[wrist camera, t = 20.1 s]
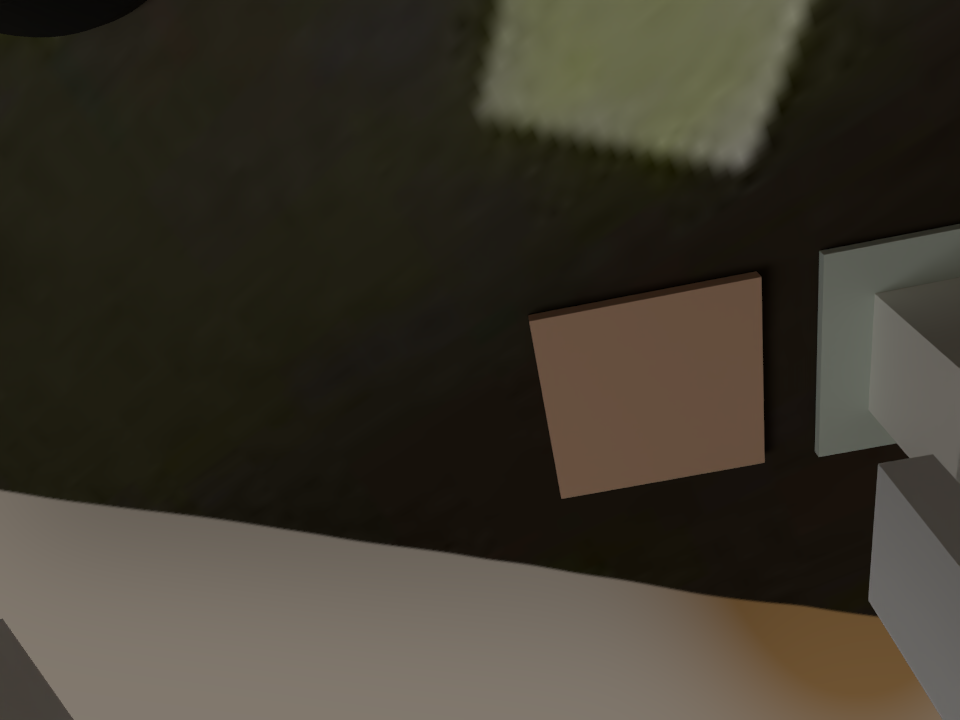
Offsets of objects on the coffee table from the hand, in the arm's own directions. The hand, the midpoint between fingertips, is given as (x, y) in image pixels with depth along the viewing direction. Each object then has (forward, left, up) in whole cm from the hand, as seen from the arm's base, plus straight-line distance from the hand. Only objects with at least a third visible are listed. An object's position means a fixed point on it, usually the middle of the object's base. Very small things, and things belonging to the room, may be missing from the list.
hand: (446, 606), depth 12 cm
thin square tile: (+9, -18, -32) cm, 38 cm away
